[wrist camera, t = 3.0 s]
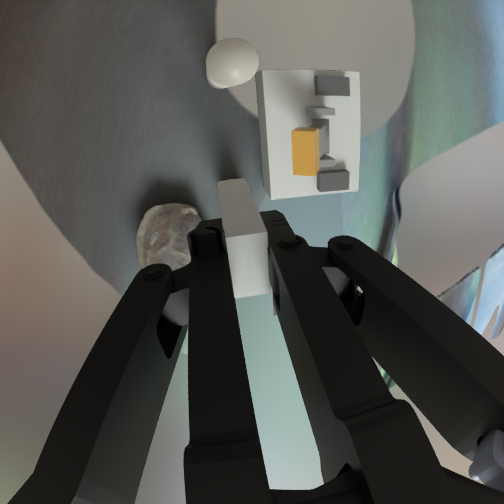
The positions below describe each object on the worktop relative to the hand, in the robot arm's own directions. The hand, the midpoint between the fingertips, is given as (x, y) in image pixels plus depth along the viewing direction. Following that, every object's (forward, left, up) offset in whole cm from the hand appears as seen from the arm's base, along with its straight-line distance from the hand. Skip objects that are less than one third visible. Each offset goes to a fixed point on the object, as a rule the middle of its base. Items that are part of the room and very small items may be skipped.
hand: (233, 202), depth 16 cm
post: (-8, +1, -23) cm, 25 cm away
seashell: (+15, -9, -24) cm, 29 cm away
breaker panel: (0, +11, -23) cm, 26 cm away
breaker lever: (0, +12, -18) cm, 21 cm away
